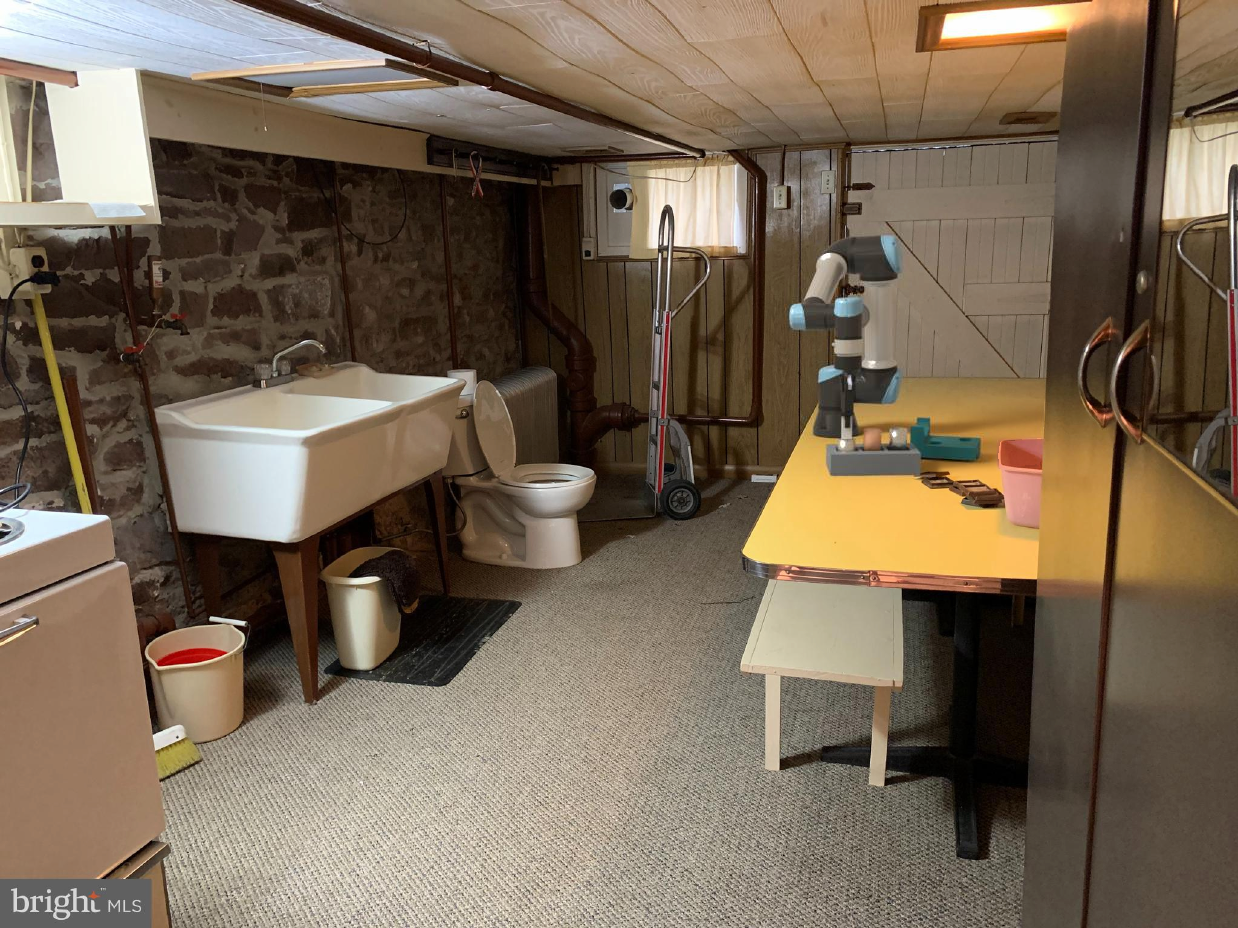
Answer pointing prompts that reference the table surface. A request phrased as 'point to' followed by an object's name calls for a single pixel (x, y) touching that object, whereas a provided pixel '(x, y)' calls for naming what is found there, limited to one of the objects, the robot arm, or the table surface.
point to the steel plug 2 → (898, 439)
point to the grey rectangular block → (873, 461)
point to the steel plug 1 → (846, 444)
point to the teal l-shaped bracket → (943, 443)
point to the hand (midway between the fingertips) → (846, 438)
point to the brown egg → (872, 439)
